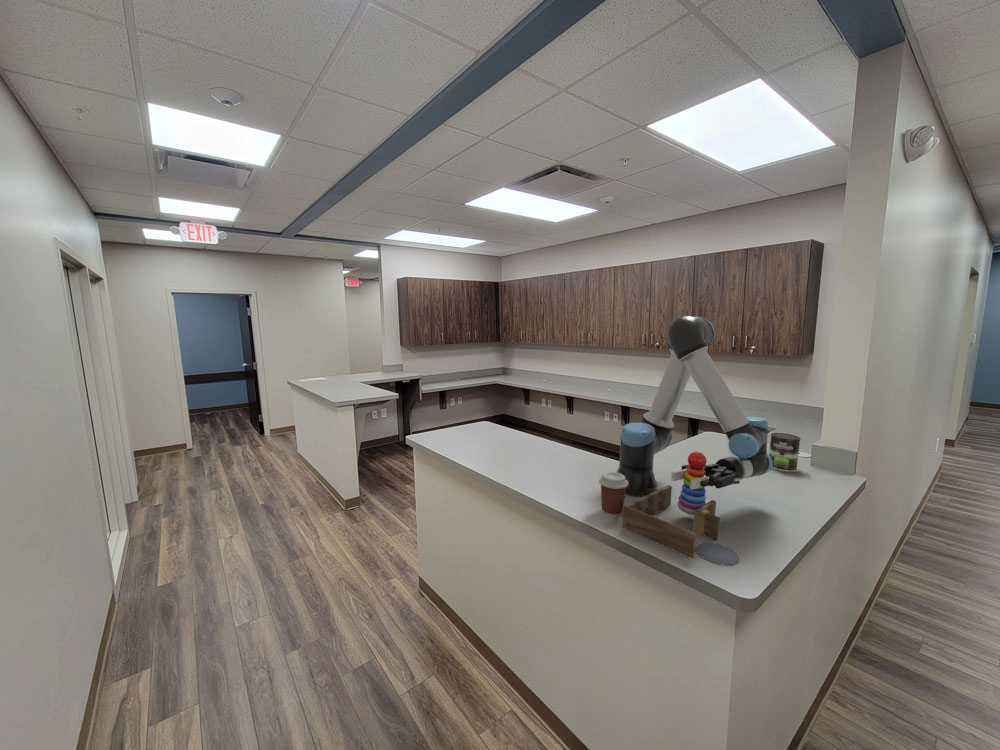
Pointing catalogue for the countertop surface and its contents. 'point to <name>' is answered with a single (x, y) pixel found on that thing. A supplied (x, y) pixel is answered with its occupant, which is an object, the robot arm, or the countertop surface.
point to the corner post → (700, 521)
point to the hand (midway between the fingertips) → (681, 480)
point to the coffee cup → (613, 493)
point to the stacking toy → (689, 497)
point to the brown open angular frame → (662, 531)
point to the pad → (717, 553)
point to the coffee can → (784, 451)
